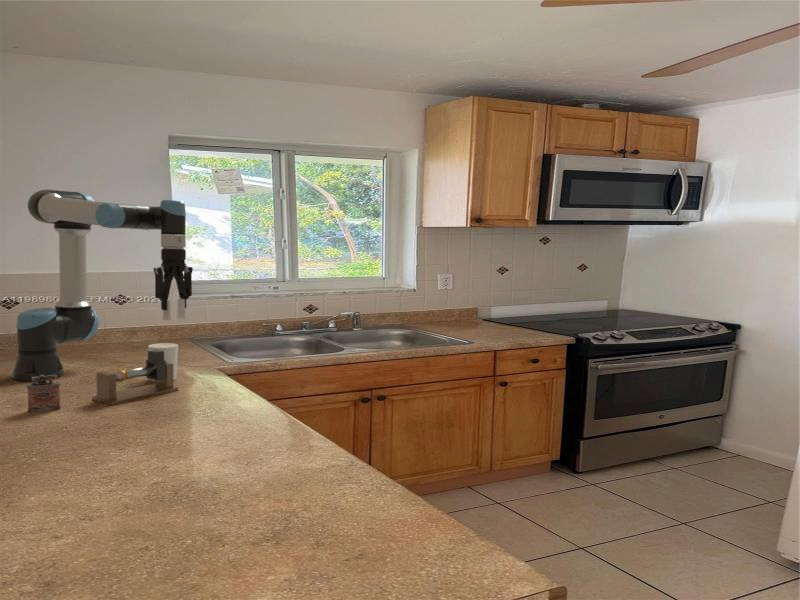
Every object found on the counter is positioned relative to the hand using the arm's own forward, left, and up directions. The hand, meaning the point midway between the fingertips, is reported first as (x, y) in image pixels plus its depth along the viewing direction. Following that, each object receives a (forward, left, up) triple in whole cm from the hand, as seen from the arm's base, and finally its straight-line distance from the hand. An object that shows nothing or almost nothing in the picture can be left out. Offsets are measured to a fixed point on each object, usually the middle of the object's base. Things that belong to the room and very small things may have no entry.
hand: (174, 318), depth 199 cm
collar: (0, -7, -19) cm, 20 cm away
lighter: (-5, -39, -23) cm, 46 cm away
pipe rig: (0, -14, -23) cm, 27 cm away
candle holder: (-12, +4, -23) cm, 26 cm away
